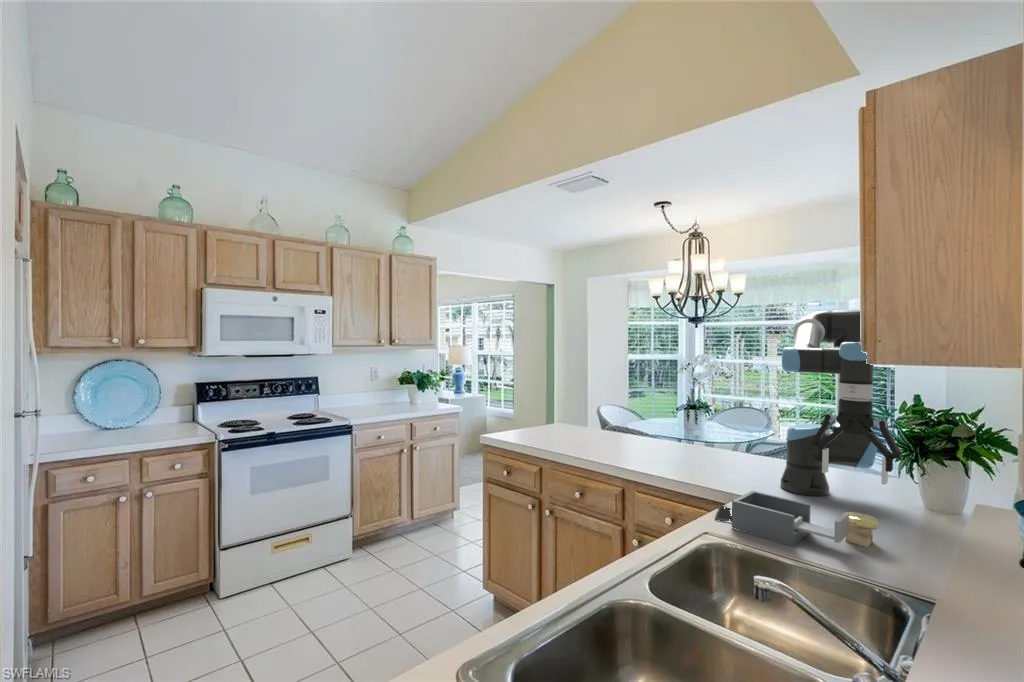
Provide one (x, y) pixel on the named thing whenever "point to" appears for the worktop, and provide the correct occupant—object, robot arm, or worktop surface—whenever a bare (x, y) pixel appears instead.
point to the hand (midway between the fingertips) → (853, 477)
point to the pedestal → (860, 536)
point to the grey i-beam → (836, 534)
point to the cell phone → (723, 514)
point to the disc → (862, 521)
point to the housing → (770, 516)
